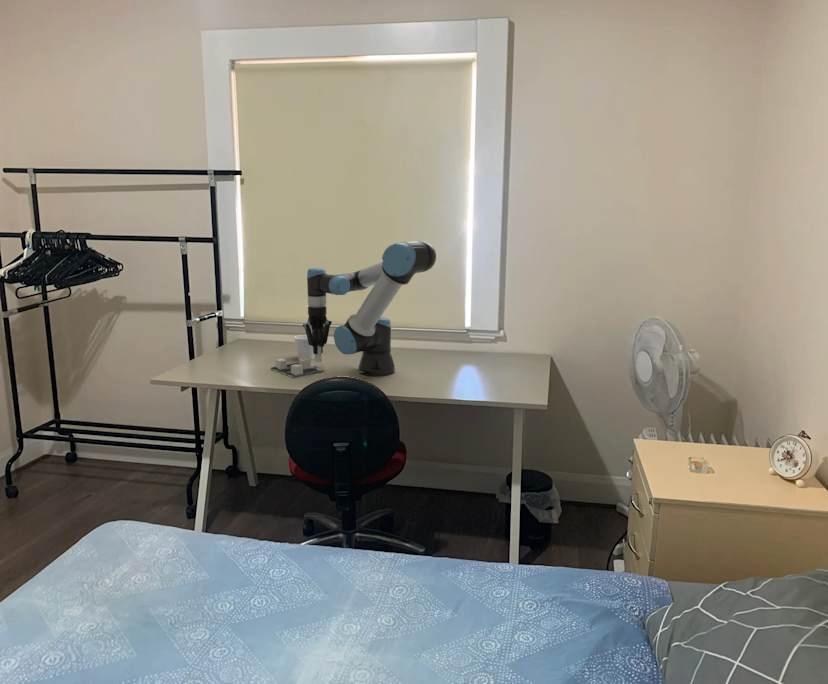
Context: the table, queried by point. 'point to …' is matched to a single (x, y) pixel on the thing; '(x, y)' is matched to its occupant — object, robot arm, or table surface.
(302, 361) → the toggle
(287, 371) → the panel
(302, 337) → the cup
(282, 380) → the table surface
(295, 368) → the toggle
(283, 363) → the toggle
